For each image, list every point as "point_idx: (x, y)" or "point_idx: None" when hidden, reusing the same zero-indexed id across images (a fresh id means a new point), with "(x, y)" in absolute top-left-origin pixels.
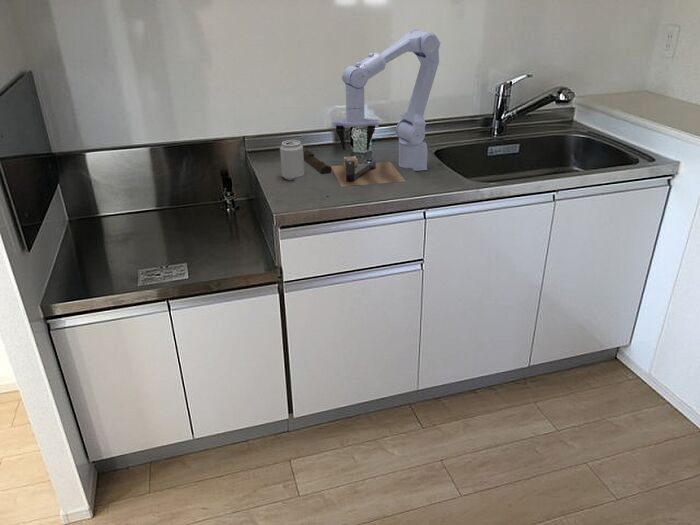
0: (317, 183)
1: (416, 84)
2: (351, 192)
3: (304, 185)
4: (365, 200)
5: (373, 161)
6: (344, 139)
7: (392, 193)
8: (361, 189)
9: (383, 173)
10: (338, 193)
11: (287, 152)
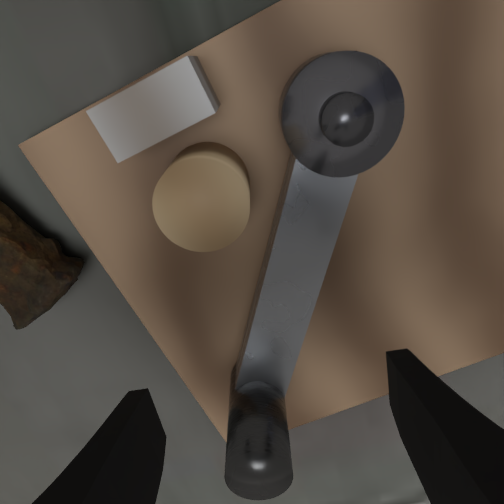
0: (72, 381)
1: None
2: None
3: (21, 415)
4: (369, 500)
5: (383, 126)
6: (118, 490)
7: (493, 419)
8: None
9: (452, 215)
10: None
11: None
